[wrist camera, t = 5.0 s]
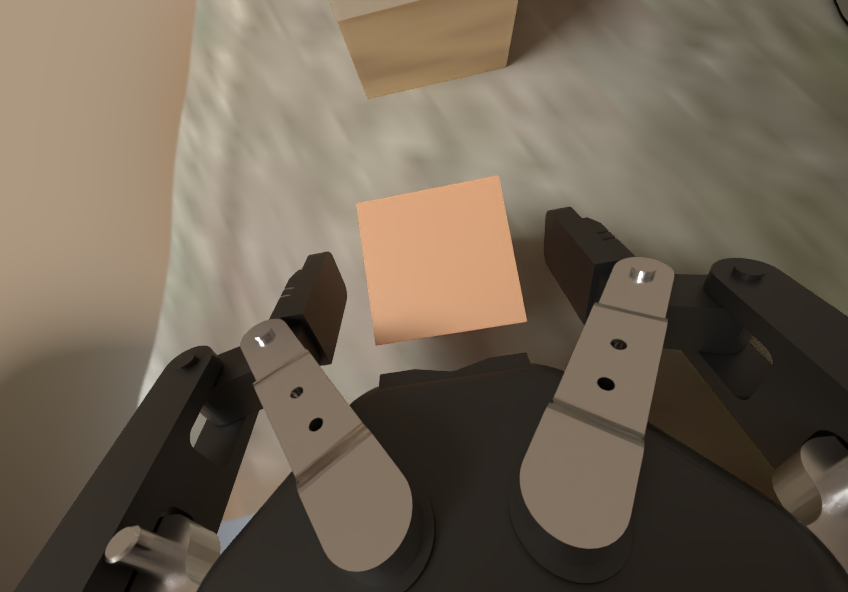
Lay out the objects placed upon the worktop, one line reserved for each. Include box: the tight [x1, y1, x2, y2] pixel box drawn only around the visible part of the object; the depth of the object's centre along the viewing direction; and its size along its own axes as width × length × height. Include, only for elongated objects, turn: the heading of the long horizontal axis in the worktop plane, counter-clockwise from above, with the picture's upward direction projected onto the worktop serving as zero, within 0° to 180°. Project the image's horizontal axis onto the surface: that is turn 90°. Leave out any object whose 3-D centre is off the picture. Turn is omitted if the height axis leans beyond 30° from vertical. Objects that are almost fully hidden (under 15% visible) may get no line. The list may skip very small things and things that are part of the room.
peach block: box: [356, 175, 527, 345], centre depth 13 cm, size 4×4×8 cm
